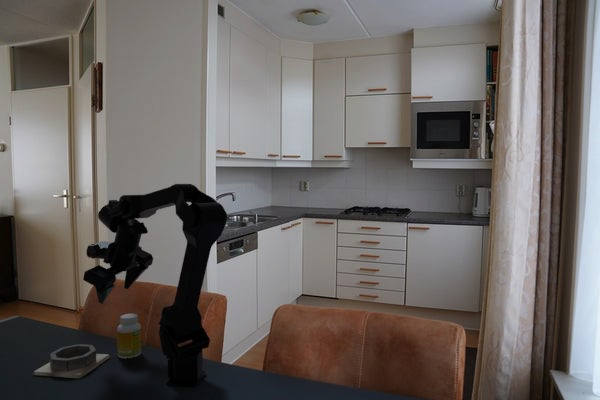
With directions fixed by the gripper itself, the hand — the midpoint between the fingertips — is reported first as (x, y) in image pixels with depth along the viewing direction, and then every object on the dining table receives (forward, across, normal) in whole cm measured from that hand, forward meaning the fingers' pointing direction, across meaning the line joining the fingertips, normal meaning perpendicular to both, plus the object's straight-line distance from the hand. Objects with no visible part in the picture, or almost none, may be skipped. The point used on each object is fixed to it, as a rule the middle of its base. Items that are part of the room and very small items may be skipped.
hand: (114, 295), depth 109 cm
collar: (+11, +14, +3) cm, 18 cm away
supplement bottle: (+10, +4, +11) cm, 15 cm away
